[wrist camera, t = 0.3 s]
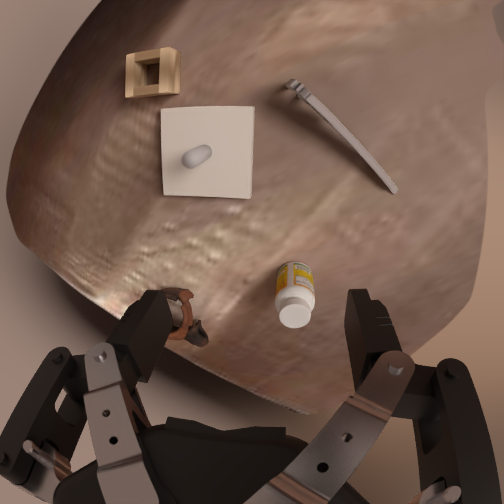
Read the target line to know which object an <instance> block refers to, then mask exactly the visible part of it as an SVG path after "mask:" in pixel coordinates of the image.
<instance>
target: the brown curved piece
mask: <svg viewBox="0 0 504 504" xmlns="http://www.w3.org/2000/svg"><path fill="white" fill-rule="evenodd" d="M162 291H164V293H165V295H166V298H168V299H172V300H174V301H177V300H178V299H179V300H180V301H181V302H182V304H183V305H182V306H181V309H182V312H183V322H182V325H181V327H176V326H174V325H173V326H172V330H171V332H170V334H169V336H168V338H167V339H170V340H181V339H185V340H187V341H189V342H190V343H191V344H193V345H196V346H199V347H203V346H205V345H207V344H208V342H209V341H208V335H207V334H206V332H205V331H204V329H203V328H202V326H201V320H198V322H197V323H196V324H195V326H193V325H192V324H193V315H192V308H191V305H190V303H189V301H188V300H189V299H190V298H193V296H194V295H193V293H192V292H190V291H189V290H188V289H184V290H182V289H181V288H166V289H162Z"/></svg>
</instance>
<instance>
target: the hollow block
mask: <svg viewBox="0 0 504 504" xmlns="http://www.w3.org/2000/svg"><path fill="white" fill-rule="evenodd" d="M180 58H181V52H179V51H177V50H175V49H172V48H170V47H167V48H160V49H154V50H148V51H143V52H138V53H133V54H128V55H127V57H126V83H125V98H141V97H149V96H158V95H168V94H179V86H180ZM157 63H160V68H159V84H154V85H147V77H148V65H150V64H157Z"/></svg>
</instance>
